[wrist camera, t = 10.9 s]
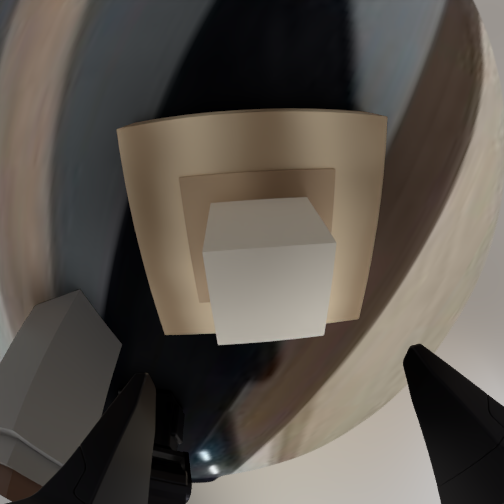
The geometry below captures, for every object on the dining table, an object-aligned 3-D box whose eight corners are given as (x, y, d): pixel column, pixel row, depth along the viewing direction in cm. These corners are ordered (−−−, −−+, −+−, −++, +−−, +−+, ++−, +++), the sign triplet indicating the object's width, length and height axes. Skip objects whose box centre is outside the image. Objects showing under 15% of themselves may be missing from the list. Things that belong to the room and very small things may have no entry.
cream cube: (220, 282, 18) (217, 344, 13) (210, 203, 15) (202, 252, 11) (303, 275, 18) (323, 335, 13) (306, 196, 15) (336, 242, 11)
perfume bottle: (80, 289, 21) (-6, 492, 6) (122, 344, 24) (80, 530, 9) (35, 305, 22) (-42, 466, 6) (74, 353, 25) (26, 507, 10)
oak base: (170, 307, 22) (164, 336, 20) (134, 122, 15) (115, 129, 13) (346, 293, 23) (359, 320, 20) (364, 111, 16) (389, 117, 13)
